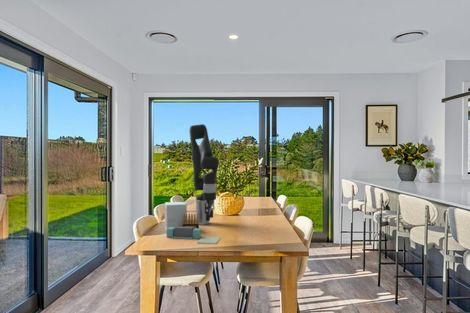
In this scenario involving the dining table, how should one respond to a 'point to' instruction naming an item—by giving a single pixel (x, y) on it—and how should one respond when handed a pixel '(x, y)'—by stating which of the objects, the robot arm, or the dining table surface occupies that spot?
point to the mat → (208, 240)
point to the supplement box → (174, 214)
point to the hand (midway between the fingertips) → (209, 219)
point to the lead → (183, 231)
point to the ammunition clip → (190, 221)
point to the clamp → (195, 236)
